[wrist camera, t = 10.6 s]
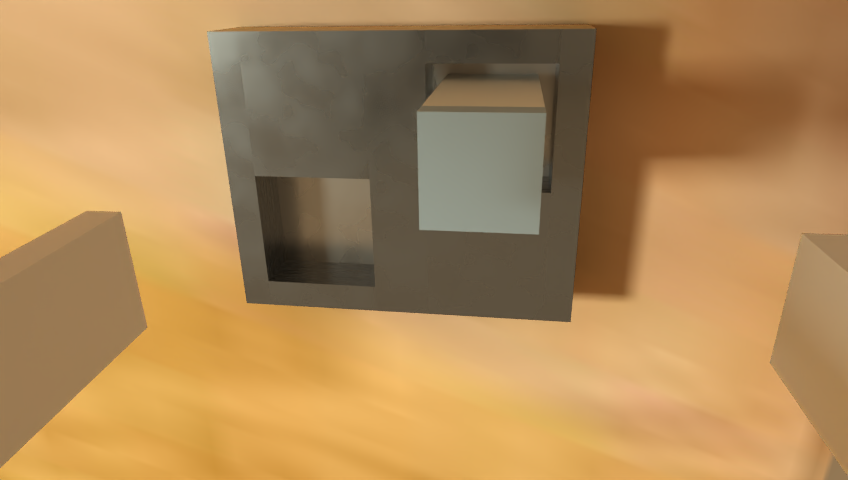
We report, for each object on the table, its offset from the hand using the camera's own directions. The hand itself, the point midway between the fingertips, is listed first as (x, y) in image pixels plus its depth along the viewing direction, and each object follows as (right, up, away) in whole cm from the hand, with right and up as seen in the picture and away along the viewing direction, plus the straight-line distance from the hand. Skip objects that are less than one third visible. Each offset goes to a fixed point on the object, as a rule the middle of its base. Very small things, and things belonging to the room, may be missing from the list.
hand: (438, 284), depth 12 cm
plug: (+3, +6, +16) cm, 17 cm away
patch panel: (-1, +5, +18) cm, 18 cm away
